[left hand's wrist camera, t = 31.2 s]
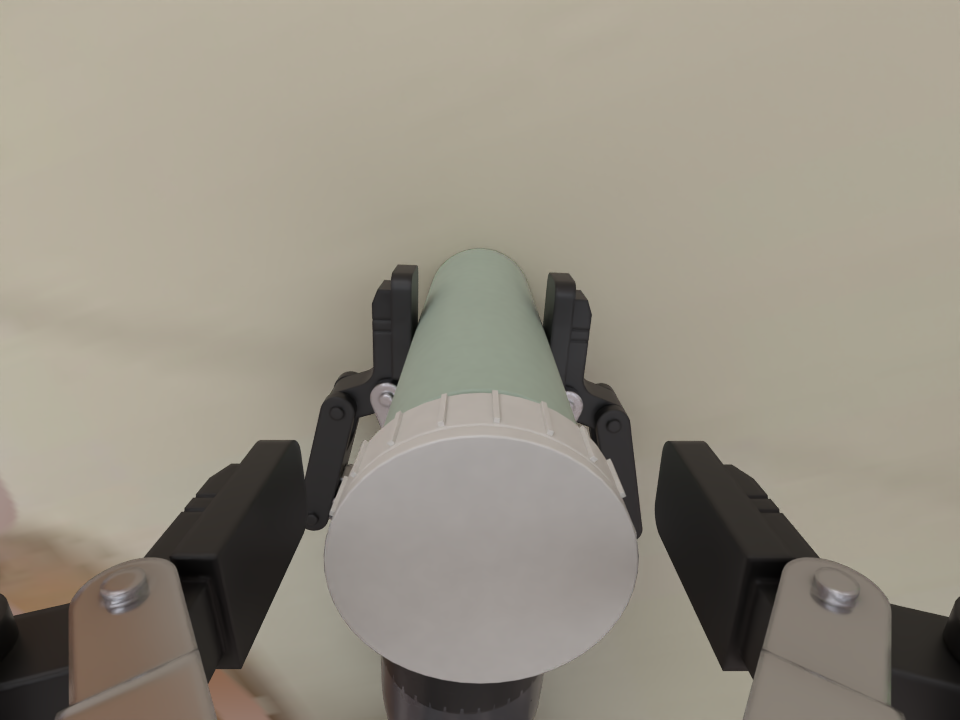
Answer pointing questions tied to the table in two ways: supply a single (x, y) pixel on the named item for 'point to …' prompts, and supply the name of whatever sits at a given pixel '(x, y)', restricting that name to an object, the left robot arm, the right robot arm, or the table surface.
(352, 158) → the table surface
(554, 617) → the lid
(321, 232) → the table surface
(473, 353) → the jar
